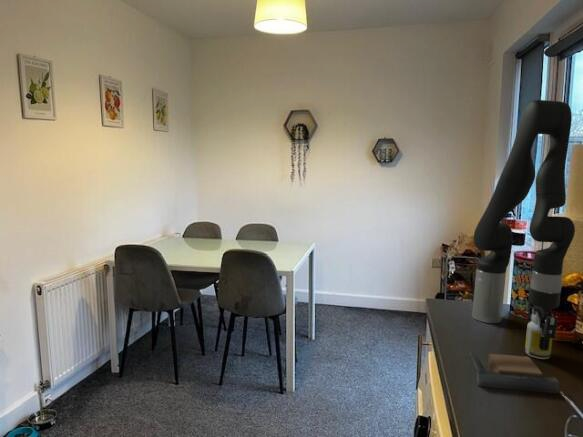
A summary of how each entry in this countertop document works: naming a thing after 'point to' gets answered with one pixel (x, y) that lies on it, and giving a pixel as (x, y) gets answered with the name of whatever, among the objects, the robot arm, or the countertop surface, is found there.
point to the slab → (513, 365)
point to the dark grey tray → (513, 380)
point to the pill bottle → (535, 341)
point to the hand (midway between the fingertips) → (538, 343)
